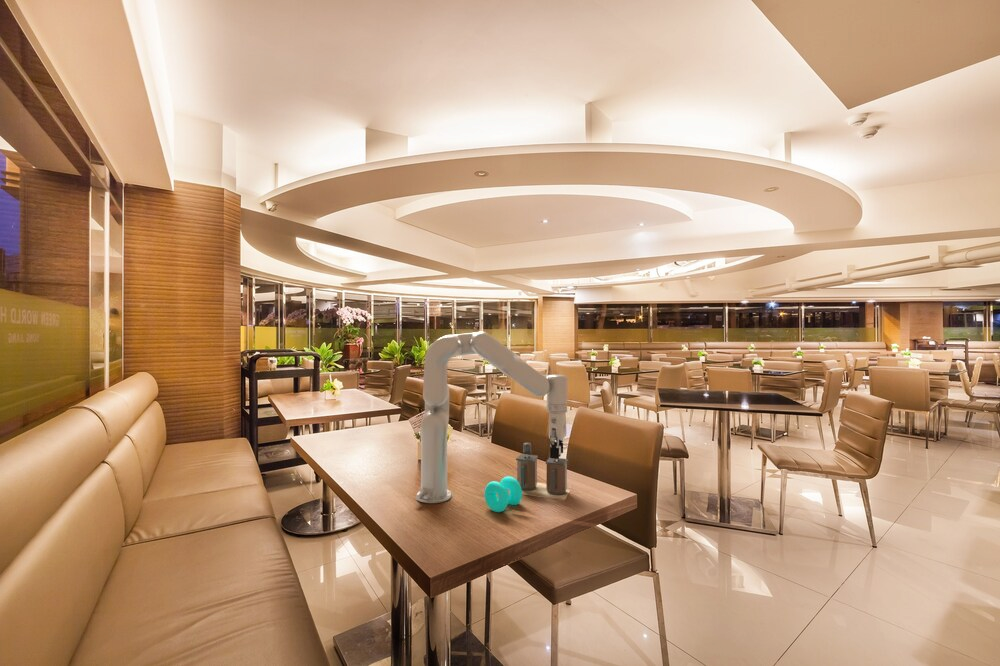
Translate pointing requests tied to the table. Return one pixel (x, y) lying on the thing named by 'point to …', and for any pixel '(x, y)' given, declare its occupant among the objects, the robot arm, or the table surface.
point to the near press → (556, 476)
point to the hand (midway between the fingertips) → (556, 455)
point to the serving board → (545, 492)
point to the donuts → (503, 493)
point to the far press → (527, 469)
